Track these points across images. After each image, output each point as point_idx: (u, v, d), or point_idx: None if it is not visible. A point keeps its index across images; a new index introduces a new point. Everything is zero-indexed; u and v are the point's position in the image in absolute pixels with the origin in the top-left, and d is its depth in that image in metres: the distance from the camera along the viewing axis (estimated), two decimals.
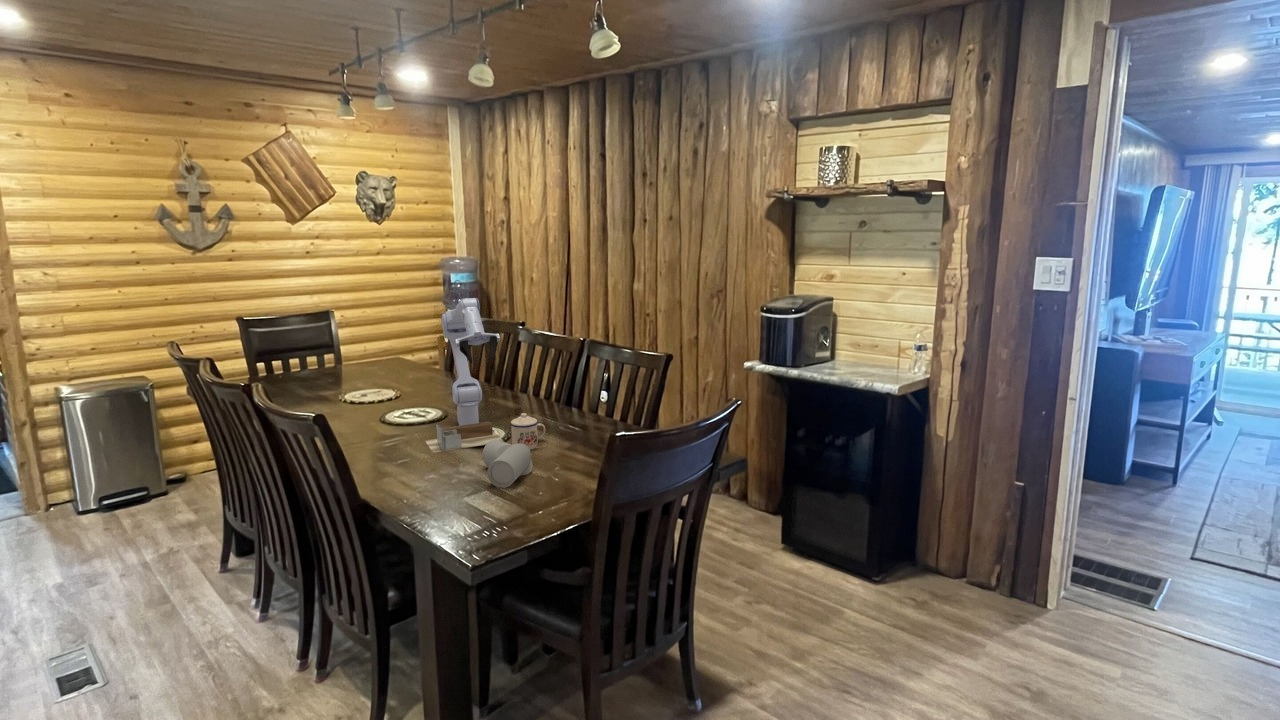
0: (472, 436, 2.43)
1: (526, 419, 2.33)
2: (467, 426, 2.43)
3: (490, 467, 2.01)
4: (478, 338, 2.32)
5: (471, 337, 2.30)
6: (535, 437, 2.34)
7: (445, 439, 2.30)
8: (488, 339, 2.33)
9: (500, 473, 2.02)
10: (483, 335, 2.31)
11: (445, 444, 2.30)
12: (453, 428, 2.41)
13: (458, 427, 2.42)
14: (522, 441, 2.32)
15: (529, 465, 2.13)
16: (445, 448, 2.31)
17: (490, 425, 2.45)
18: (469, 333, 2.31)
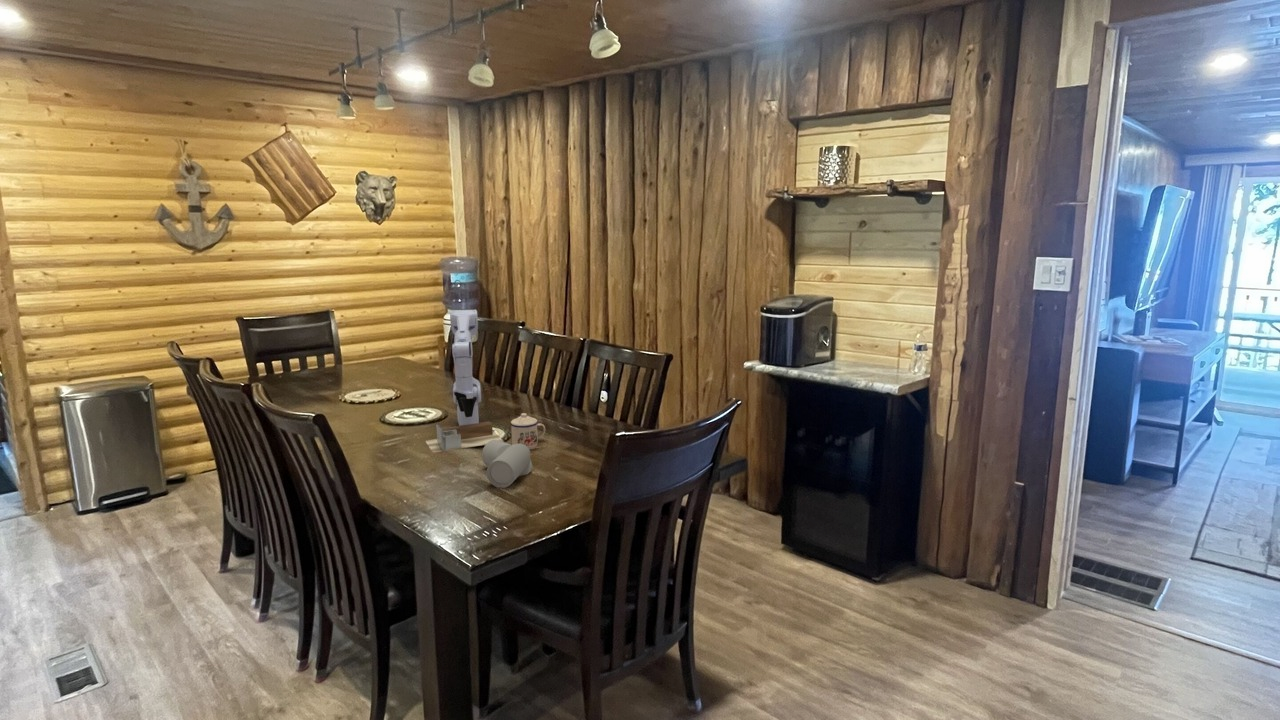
0: (472, 436, 2.43)
1: (526, 419, 2.33)
2: (467, 426, 2.43)
3: (489, 467, 2.01)
4: None
5: None
6: (535, 437, 2.34)
7: (445, 439, 2.30)
8: None
9: (499, 473, 2.02)
10: None
11: (445, 444, 2.30)
12: (453, 428, 2.41)
13: (458, 427, 2.42)
14: (522, 441, 2.32)
15: (528, 465, 2.13)
16: (445, 448, 2.31)
17: (490, 425, 2.45)
18: None
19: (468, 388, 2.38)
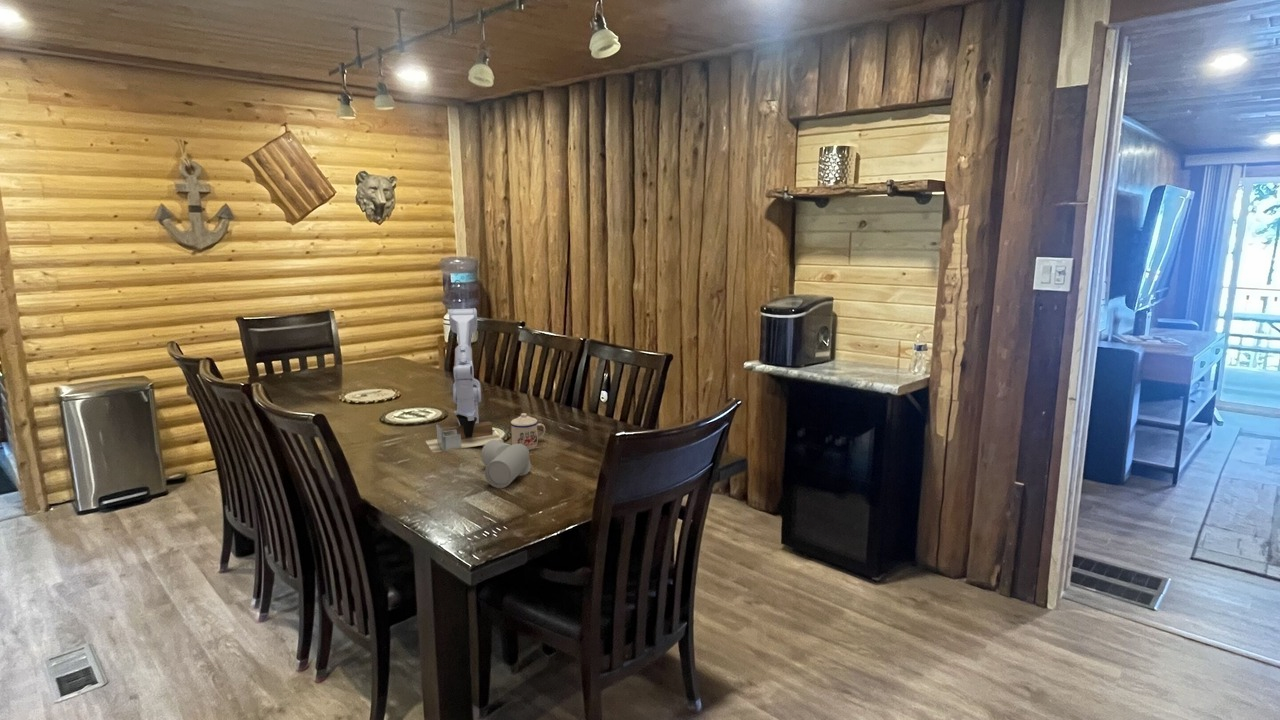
0: (472, 436, 2.43)
1: (526, 419, 2.33)
2: None
3: (487, 467, 2.01)
4: None
5: None
6: (535, 437, 2.34)
7: (445, 439, 2.30)
8: (467, 416, 2.39)
9: (497, 473, 2.01)
10: None
11: (445, 444, 2.30)
12: (453, 428, 2.41)
13: (458, 427, 2.42)
14: (522, 441, 2.32)
15: (527, 465, 2.12)
16: (445, 448, 2.31)
17: (490, 425, 2.45)
18: None
19: (469, 410, 2.40)
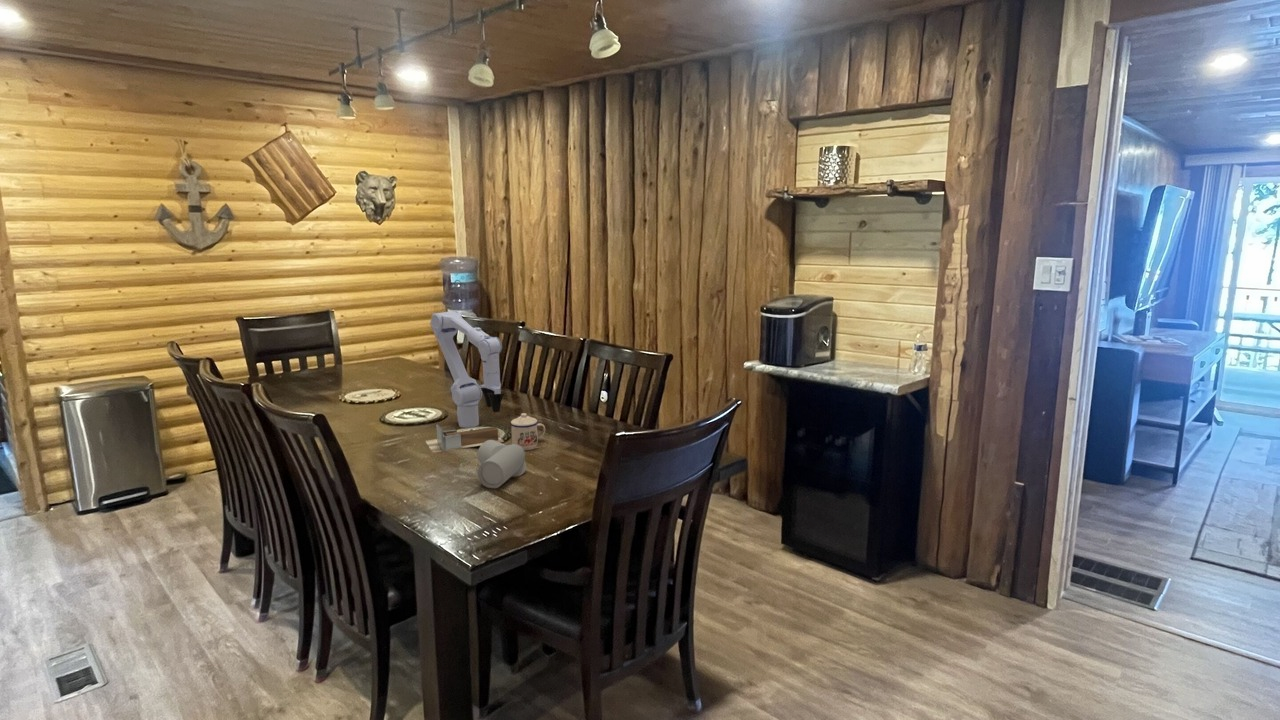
0: (477, 442, 2.37)
1: (526, 419, 2.33)
2: (472, 431, 2.37)
3: (480, 467, 2.01)
4: None
5: None
6: (535, 437, 2.34)
7: (445, 439, 2.30)
8: (494, 390, 2.43)
9: (490, 473, 2.01)
10: None
11: (445, 444, 2.30)
12: None
13: (463, 433, 2.35)
14: (522, 441, 2.32)
15: (522, 466, 2.12)
16: (445, 448, 2.31)
17: (496, 430, 2.39)
18: None
19: (496, 383, 2.44)
